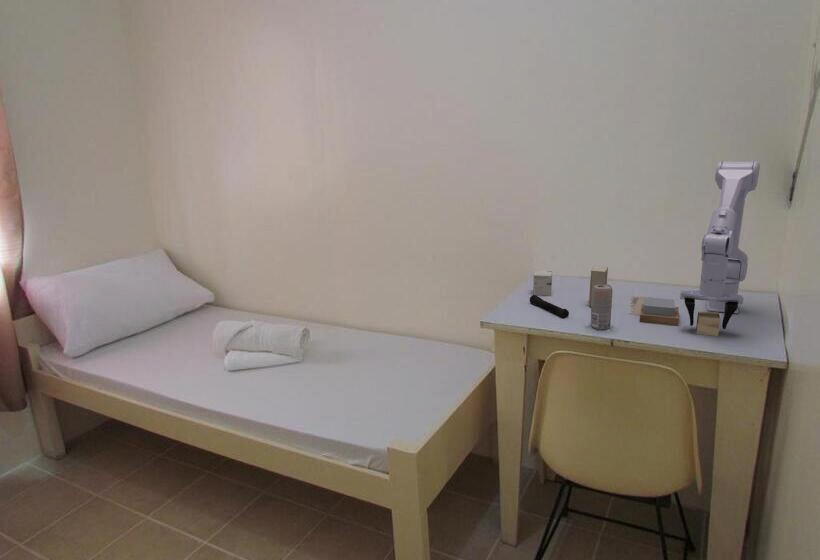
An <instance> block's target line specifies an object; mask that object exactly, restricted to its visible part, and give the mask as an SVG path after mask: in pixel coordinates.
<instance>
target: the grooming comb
mask: <svg viewBox="0 0 820 560" xmlns="http://www.w3.org/2000/svg"><path fill="white" fill-rule="evenodd" d="M645 297H646V296H633V295H632V296H630V299H629V300H630V301H629V304H630V305H629V307H630V312H629V313H628V315H632V316H639V317H640V313H641V307H642V304H644V298H645ZM648 298H652V297H651V296H650V297H649V296H648Z"/></svg>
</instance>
